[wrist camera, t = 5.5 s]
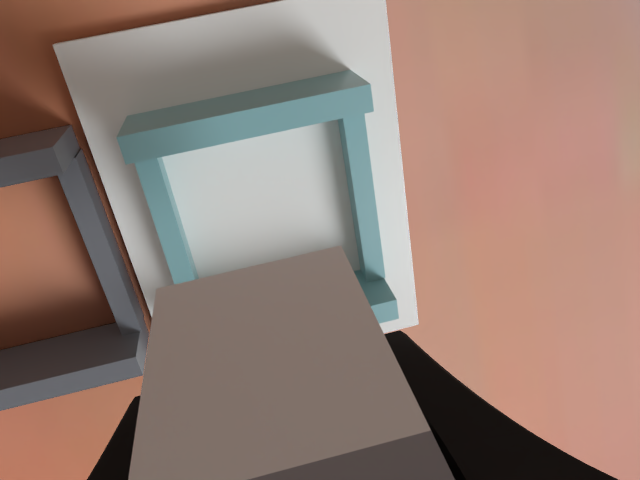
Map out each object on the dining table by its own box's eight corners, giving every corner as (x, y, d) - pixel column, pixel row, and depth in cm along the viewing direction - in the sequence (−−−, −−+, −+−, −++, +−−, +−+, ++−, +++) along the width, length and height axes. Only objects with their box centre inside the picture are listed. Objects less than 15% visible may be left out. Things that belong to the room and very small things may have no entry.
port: (177, 378, 23) (173, 431, 20) (55, 43, 17) (29, 57, 14) (415, 319, 24) (441, 362, 21) (379, -19, 18) (410, -17, 15)
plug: (204, 427, 14) (205, 807, 8) (156, 288, 12) (104, 640, 6) (364, 386, 14) (489, 715, 8) (340, 245, 12) (480, 532, 6)
